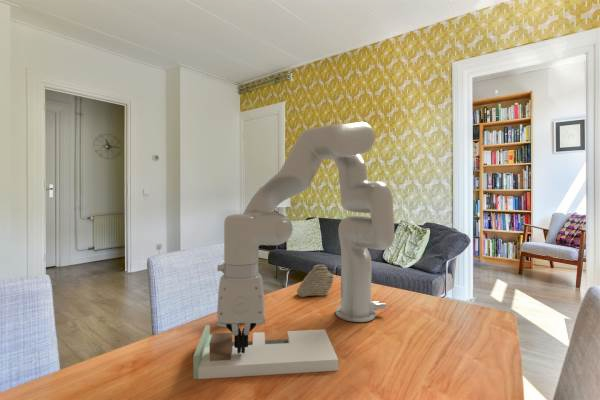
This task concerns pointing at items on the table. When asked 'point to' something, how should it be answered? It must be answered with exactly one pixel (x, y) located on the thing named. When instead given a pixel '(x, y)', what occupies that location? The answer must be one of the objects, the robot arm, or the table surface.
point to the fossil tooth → (316, 282)
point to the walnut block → (221, 346)
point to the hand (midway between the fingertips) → (241, 350)
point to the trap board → (268, 356)
